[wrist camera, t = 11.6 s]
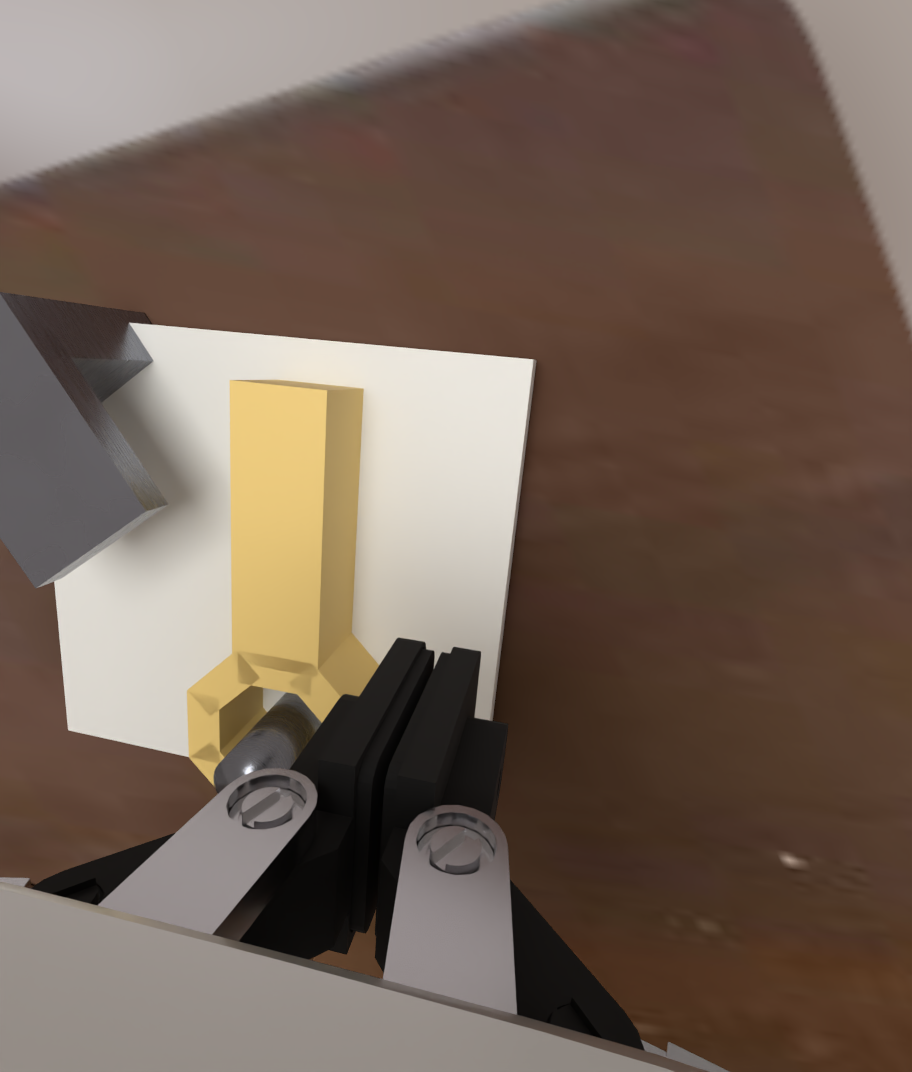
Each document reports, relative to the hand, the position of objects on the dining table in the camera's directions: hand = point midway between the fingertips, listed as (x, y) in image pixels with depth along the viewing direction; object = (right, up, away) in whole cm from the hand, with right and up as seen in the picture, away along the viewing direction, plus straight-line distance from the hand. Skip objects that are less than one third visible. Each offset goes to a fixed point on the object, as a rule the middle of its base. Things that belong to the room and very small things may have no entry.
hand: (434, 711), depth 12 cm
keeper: (-11, +7, +11) cm, 18 cm away
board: (-7, +2, +12) cm, 14 cm away
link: (-5, +1, +10) cm, 11 cm away
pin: (-5, -3, +13) cm, 14 cm away
